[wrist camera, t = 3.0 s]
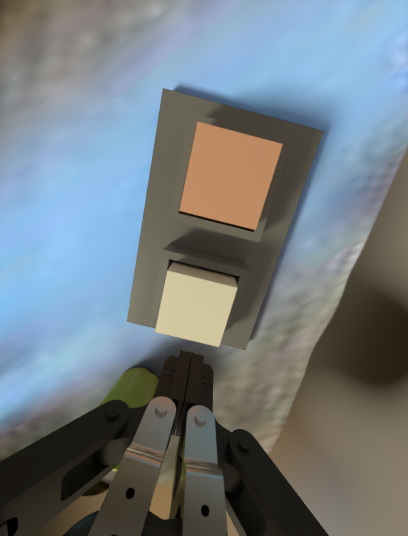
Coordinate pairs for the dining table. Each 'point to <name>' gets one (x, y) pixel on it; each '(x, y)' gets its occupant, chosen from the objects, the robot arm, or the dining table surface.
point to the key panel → (209, 230)
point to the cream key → (195, 304)
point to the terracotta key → (228, 175)
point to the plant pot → (133, 389)
